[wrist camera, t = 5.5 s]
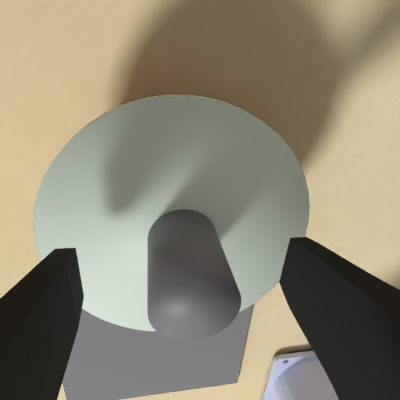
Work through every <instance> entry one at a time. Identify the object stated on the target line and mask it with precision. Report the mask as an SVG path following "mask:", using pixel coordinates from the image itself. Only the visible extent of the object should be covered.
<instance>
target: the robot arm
mask: <svg viewBox="0 0 400 400" xmlns="http://www.w3.org/2000/svg"><path fill="white" fill-rule="evenodd" d="M279 282H280V285H281V288H282V290H283V293H284V295H285V298H286V300H287V303H288V305H289V307H290V309H291V311H292V313H293V315H294V317H295V319H296V320H297V322H298V324H299V326H300V328H301V329H302V331H303V333H304V335H305V336H306V338H307V340H308V342H309V344H310V345H311V347H312V349H313V351H305V352H297V353H289V354H281V355H277V356H275V357H274V359H273V362H272V366H271V369H270V373H269V376H268V380H267V384H266V387H265V391H264V394H263V398H262V400H400V290H399V289H397V288H395V287H393V286H391V285H389V284H387V283H386V282H384V281H382V280H380V279H378V278H377V277H375V276H373V275H371V274H370V273H368V272H366V271H364V270H363V269H361V268H359V267H357V266H356V265H354V264H352V263H351V262H349V261H347V260H346V259H344V258H342V257H341V256H339V255H337V254H336V253H334V252H332V251H331V250H329V249H327V248H325V247H324V246H322V245H320V244H318V243H317V242H315V241H313V240H311V239H309V238H307V237H295V238H290V240H289V244H288V248H287V252H286V256H285V260H284V265H283V269H282V273H281V277H280V281H279ZM83 299H84V294H83V288H82V282H81V276H80V270H79V264H78V258H77V252H76V248H60V249H54V250H53V251H52V252H51V253H49V254H48V255H47V256H46V257H45V258H44V259H43V260H42V261H41V262H40V263H39V264H38V265H37V266H35V267H34V268H33V269H32V270H31V271H30V272H29V273H28V274H27V275H26V276H25V277H24V278H23V279H22V280H20V281H19V282H18V283H17V284H16V285H15V286H14V287H13V288H12V289H10V290H9V291H8V292H7V293H6V294H5V295H4V296H3V297H2V298H0V400H57V397H58V394H59V391H60V387H61V384H62V381H63V378H64V374H65V371H66V368H67V364H68V361H69V358H70V355H71V351H72V348H73V345H74V341H75V338H76V335H77V331H78V328H79V322H80V317H81V311H82V305H83Z"/></svg>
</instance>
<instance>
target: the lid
mask: <svg viewBox="0 0 400 400" xmlns="http://www.w3.org/2000/svg"><path fill="white" fill-rule="evenodd" d="M308 220H309V192H308V188H307V183H306V179H305V176H304V173H303V171H302V168H301V166H300V163H299V161H298V160H297V158H296V156H295V155H294V153H293V151H292V150H291V148H290V147H289V146H288V145H287V143H286V142H285V141H284V140H283V139H282V137H281V136H280V135H279V134H278V133H276V132H275V131H274V130H273V129H272V128H271V127H270V126H268V125H267V124H266V123H264V122H263V121H261V120H260V119H258V118H257V117H255V116H253V115H252V114H250V113H248V112H247V111H245V110H243V109H241V108H238V107H236V106H234V105H232V104H229V103H227V102H224V101H220V100H217V99H213V98H210V97H205V96H197V95H190V94H165V95H159V96H152V97H145V98H142V99H139V100H135V101H132V102H128V103H125V104H123V105H121V106H118V107H116V108H114V109H112V110H110V111H107V112H105V113H104V114H102V115H101V116H99V117H98V118H96V119H95V120H93V121H92V122H90V123H88V124H87V125H86V126H85V127H84V128H83V129H82V130H80V131H79V132H78V133H77V134H76V135H75V136H74V137H73V138H72V139H71V140H70V141H69V142H68V143H67V144H66V145H65V147H64V148H63V149H62V150H61V151H60V153H59V154H58V155H57V156H56V157H55V159H54V160H53V162H52V164H51V165H50V167H49V169H48V170H47V172H46V174H45V175H44V178H43V180H42V183H41V186H40V188H39V191H38V194H37V198H36V203H35V208H34V227H33V228H34V235H35V242H36V246H37V249H38V253H39V256H40V259H41V261H42V260H43V259H44V258H45V257H46V256H47V255H48V254H49V253H51V252H52V251H53V250H54V249H60V248H76V252H77V258H78V264H79V270H80V276H81V282H82V288H83V294H84V299H83V305H82V309H84V310H85V311H87V312H88V313H90V314H92V315H94V316H96V317H98V318H100V319H102V320H104V321H107V322H110V323H113V324H116V325H118V326H122V327H127V328H131V329H136V330H144V331H157V332H158V333H159V334H161V335H162V336H164V337H167V338H169V339H173V340H178V341H195V340H200V339H204V338H208V337H210V336H213V335H215V334H217V333H219V332H221V331H222V330H224V329H225V328H226V327H227V326H229V325H230V324H231V323H232V322H233V320H234V319H235V318H236V316H237V315H238V313H239V312H241V311H243V310H244V309H246V308H248V307H249V306H251V305H252V304H254V303H255V302H257V301H258V300H259V299H260V298H262V297H263V296H264V295H266V294H267V293H268V292H269V291H270V290H271V289H272V288H273V287H274V286H275V285H276V284H277V283H278V282H279V281H280V277H281V273H282V269H283V265H284V260H285V256H286V252H287V248H288V244H289V240H290V238H295V237H305V234H306V230H307V225H308Z"/></svg>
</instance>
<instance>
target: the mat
mask: <svg viewBox="0 0 400 400" xmlns="http://www.w3.org/2000/svg"><path fill="white" fill-rule="evenodd" d="M252 307H253V304H252V305H251V306H249V307H248V308H246V309H244V310H243V311H241V312H239V313H238V315H237V316H236V318H235V319H234V320H233V322H232V323H231V324H230V325H229V326H227V327H226V328H225V329H224V330H222V331H221V332H219V333H217V334H215V335H213V336H210V337H208V338H204V339H200V340H195V341H178V340H173V339H169V338H167V337H164V336H162V335H161V334H159V333H158V332H157V331H144V330H136V329H131V328H127V327H122V326H118V325H116V324H113V323H110V322H107V321H104V320H102V319H100V318H98V317H96V316H94V315H92V314H90V313H88V312H87V311H85V310H84V309H82V311H81V317H80V322H79V328H78V331H77V335H76V338H75V341H74V345H73V348H72V351H71V355H70V358H69V361H68V364H67V368H66V371H65V374H64V378H63V381H62V383H63V387H64V391H65V395H66V398H67V400H119V399H126V398H133V397H140V396H147V395H154V394H161V393H168V392H176V391H183V390H190V389H197V388H204V387H211V386H218V385H226V384H233V383H237V381H238V376H239V372H240V367H241V362H242V357H243V352H244V347H245V342H246V337H247V332H248V327H249V322H250V317H251V312H252Z"/></svg>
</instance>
